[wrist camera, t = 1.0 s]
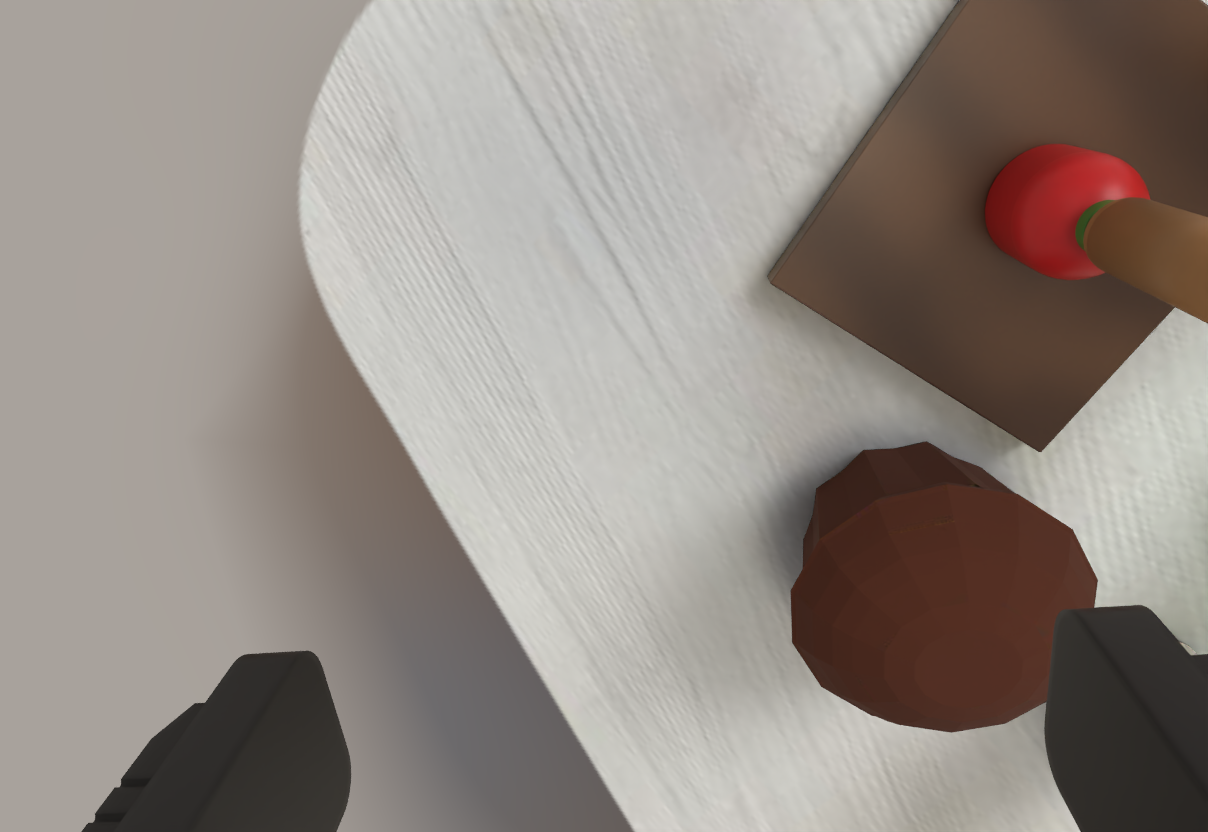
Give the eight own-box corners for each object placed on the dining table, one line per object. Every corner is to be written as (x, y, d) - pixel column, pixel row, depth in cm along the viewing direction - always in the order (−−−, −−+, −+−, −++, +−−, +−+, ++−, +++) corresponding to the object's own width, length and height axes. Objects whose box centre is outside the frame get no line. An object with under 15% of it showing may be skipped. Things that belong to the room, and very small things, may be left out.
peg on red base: (1039, 120, 31) (1337, 172, 17) (1131, 184, 32) (1489, 284, 18) (960, 222, 33) (1173, 346, 19) (1048, 281, 34) (1318, 443, 20)
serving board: (1035, -109, 30) (1048, -115, 28) (1329, 112, 32) (1353, 114, 31) (766, 276, 35) (769, 283, 34) (1029, 441, 38) (1040, 453, 36)
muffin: (1066, 438, 37) (1196, 563, 28) (989, 641, 42) (1080, 807, 33) (797, 399, 38) (839, 511, 28) (749, 606, 42) (771, 761, 33)
